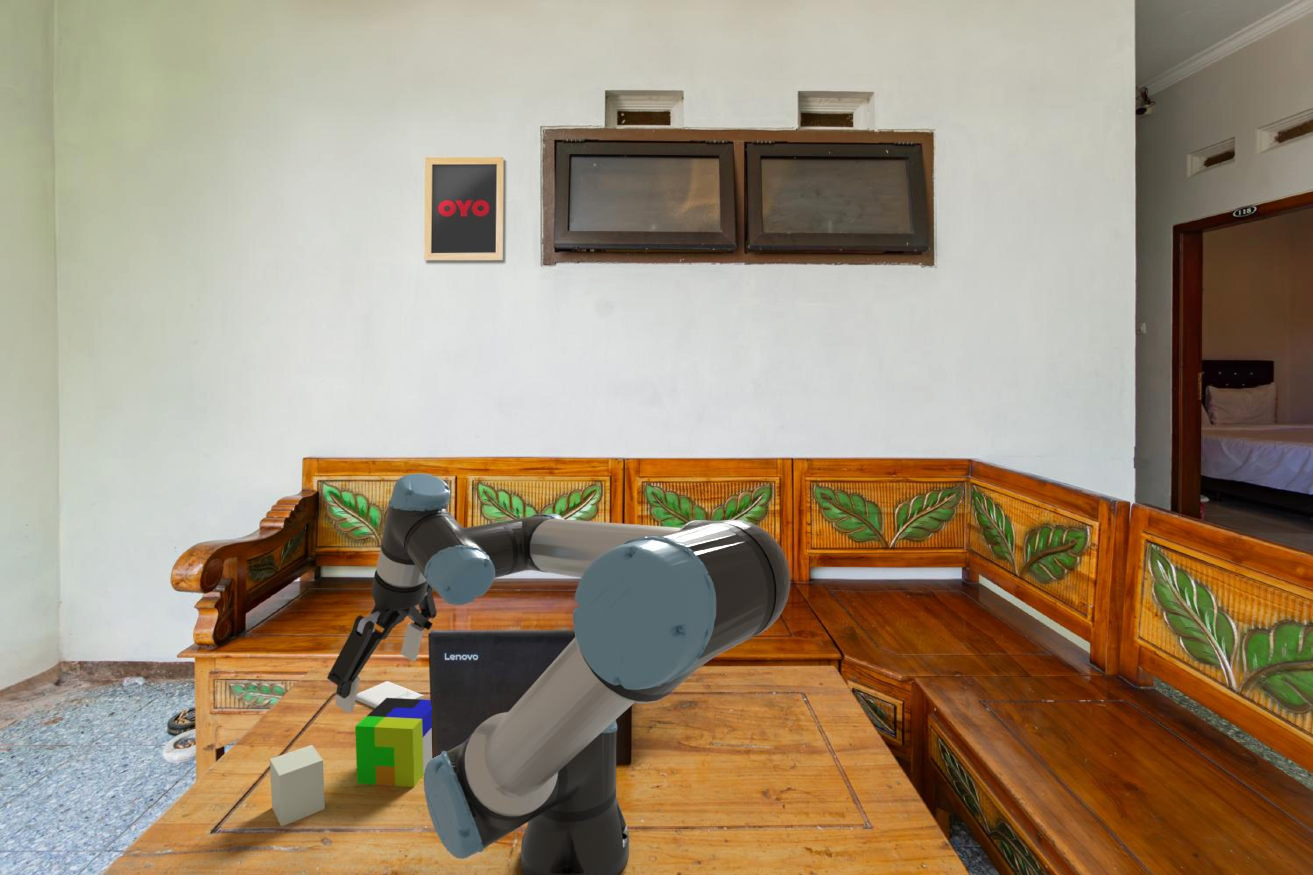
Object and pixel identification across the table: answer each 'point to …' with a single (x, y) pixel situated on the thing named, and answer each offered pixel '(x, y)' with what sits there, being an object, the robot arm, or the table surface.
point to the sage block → (297, 784)
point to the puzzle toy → (394, 743)
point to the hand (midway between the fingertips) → (378, 680)
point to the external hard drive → (385, 694)
